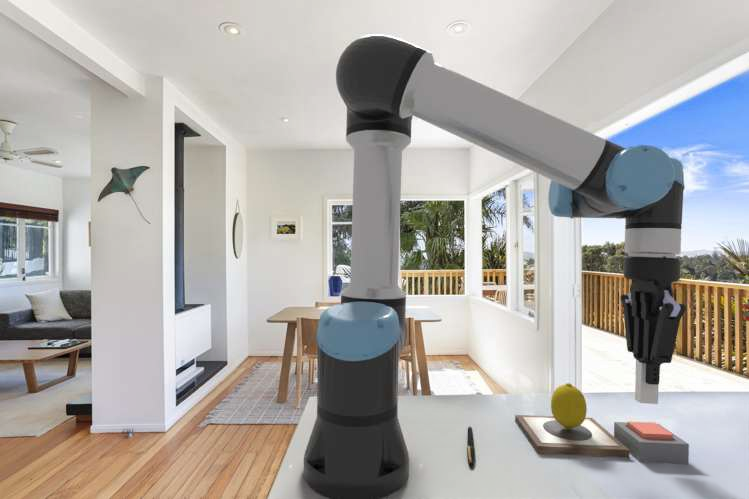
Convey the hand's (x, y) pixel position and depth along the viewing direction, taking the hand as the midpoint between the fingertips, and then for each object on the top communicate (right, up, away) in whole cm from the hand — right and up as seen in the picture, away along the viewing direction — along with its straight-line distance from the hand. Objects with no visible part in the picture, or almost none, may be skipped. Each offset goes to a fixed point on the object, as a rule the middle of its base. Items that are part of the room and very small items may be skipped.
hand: (646, 401), depth 65 cm
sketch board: (-11, -8, +4) cm, 14 cm away
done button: (0, -7, 0) cm, 7 cm away
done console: (0, -8, 0) cm, 8 cm away
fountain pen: (-28, -8, +1) cm, 29 cm away
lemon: (-11, -7, +4) cm, 13 cm away
